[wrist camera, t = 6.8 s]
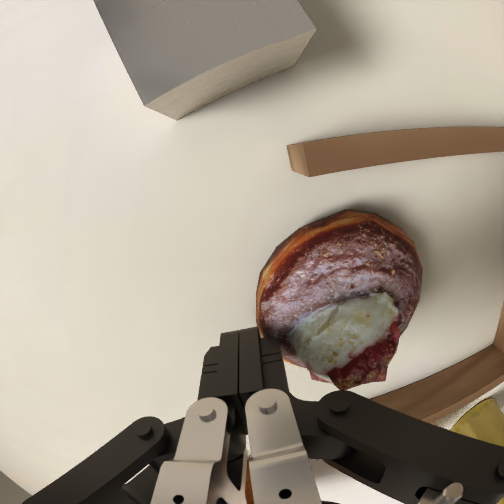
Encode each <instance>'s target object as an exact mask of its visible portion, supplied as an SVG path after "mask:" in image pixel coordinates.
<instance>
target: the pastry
mask: <svg viewBox="0 0 504 504" xmlns="http://www.w3.org/2000/svg"><path fill="white" fill-rule="evenodd" d="M421 281H422V266H421V263H420V260H419V257H418V254H417V251H416V248H415V245H414V242H413V241H412V240H411V239H410V238H409V237H408V236H407V234H406V233H405V232H404V231H403V230H402V229H401V228H399V227H398V226H396V225H394V224H393V223H391V222H389V221H388V220H386V219H384V218H383V217H381V216H379V215H378V214H375V213H367V212H360V211H352V210H343V211H340V212H338V213H336V214H333V215H331V216H328V217H326V218H323V219H321V220H318V221H316V222H313V223H311V224H309V225H306V226H304V227H301V228H299V229H298V230H296V231H295V232H294V233H293V234H292V235H290V236H289V237H288V238H287V239H286V240H284V241H283V242H282V243H281V244H280V245H278V246H277V247H276V249H275V250H274V252H273V253H272V255H271V257H270V258H269V260H268V261H267V263H266V264H265V266H264V267H263V269H262V270H261V272H260V276H259V281H258V286H257V291H256V322H257V326H258V329H259V333H260V337H261V338H265V337H270V336H273V337H274V338H275V339H276V340H277V341H278V342H279V343H280V348H281V353H282V357H283V361H285V362H288V363H291V364H294V365H297V366H300V367H303V368H307V369H308V370H309V372H310V375H311V379H312V380H317V381H322V382H327V383H333V384H334V385H335V386H336V387H337V388H338V389H340V390H347V389H350V388H353V387H356V386H359V385H361V384H366V383H370V382H380V381H385V380H386V374H387V368H388V364H389V363H390V361H391V359H392V358H393V356H394V354H395V353H396V351H397V347H398V342H399V337H400V336H401V334H402V333H403V332H404V331H405V329H406V328H407V326H408V324H409V322H410V320H411V318H412V315H413V313H414V311H415V309H416V307H417V304H418V302H419V297H420V291H421Z"/></svg>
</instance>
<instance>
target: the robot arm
mask: <svg viewBox="0 0 504 504" xmlns="http://www.w3.org/2000/svg"><path fill="white" fill-rule="evenodd" d="M246 435H249V442H250V449H251V459H249V469H250V477H251V484H252V491H253V498H254V504H339V503H334V502H328V501H321V499H320V496H319V492H318V489H317V486H316V482H315V479H314V476H313V473H312V469H311V466H310V463H309V459H308V458H310V459H323V460H324V462H326V463H327V464H329V465H330V466H332V467H334V468H336V469H337V470H339V471H341V472H343V473H344V474H346V475H348V476H350V477H352V478H353V479H355V480H357V481H359V482H361V483H363V484H365V485H367V486H369V487H371V488H373V489H375V490H377V491H379V492H381V493H383V494H385V495H387V496H389V497H391V498H393V499H396V500H398V501H400V502H402V503H405V504H498V503H499V501H500V500H501V499H502V498H504V447H503V446H500V445H496V444H492V443H489V442H485V441H482V440H478V439H475V438H472V437H469V436H465V435H462V434H459V433H456V432H453V431H450V430H447V429H444V428H441V427H438V426H436V425H433V424H430V423H427V422H425V421H422V420H419V419H416V418H414V417H411V416H409V415H406V414H404V413H401V412H398V411H396V410H393V409H391V408H389V407H386V406H384V405H381V404H379V403H377V402H374V401H372V400H370V399H367V398H365V397H363V396H360V395H358V394H356V393H354V392H351V391H346V390H339V391H334V392H331V393H329V394H327V395H325V396H324V397H322V398H321V399H320V401H303V400H300V399H297V398H295V397H294V396H293V395H292V394H291V393H290V392H289V388H288V382H287V377H286V372H285V367H284V362H283V357H282V353H281V348H280V343H279V342H278V341H277V340H276V339H275V338H274V337H273V336H270V337H265V338H261V337H260V333H259V329H258V327H252V328H247V329H242V330H240V331H239V330H237V331H231V332H226V333H221V336H220V346H215V347H210V349H209V350H208V352H207V353H206V355H205V356H204V362H203V368H202V374H201V381H200V387H199V394H198V401H196V402H195V403H193V404H192V405H191V406H190V407H189V409H188V410H187V413H186V416H185V417H184V418H182V419H179V420H176V421H173V422H170V423H166V424H163V423H162V421H161V420H160V419H158V418H156V417H149V416H148V417H143V418H140V419H138V420H136V421H135V422H133V423H132V424H131V425H129V426H128V427H127V428H126V429H124V430H123V431H122V432H121V433H119V434H118V435H117V436H115V437H114V438H113V439H112V440H110V441H109V442H108V443H106V444H105V445H104V446H102V447H101V448H100V449H98V450H97V451H96V452H94V453H93V454H92V455H90V456H89V457H88V458H86V459H85V460H83V461H82V462H81V463H79V464H78V465H77V466H75V467H74V468H72V469H71V470H70V471H68V472H67V473H65V474H64V475H62V476H61V477H60V478H58V479H57V480H55V481H54V482H52V483H51V484H49V485H48V486H46V487H45V488H43V489H42V490H40V491H39V492H37V493H36V494H34V495H33V496H31V497H30V498H28V499H27V500H25V501H24V502H23V503H22V504H247V502H246V498H245V483H246V468H247V448H246ZM148 464H149V466H148V467H147V468H146V469H144V470H143V471H142V472H141V473H140V474H138V475H137V476H136V477H135V478H133V479H132V480H131V481H130V482H128V483H127V484H125V483H126V482H127V481H128V480H130V479H131V478H132V477H133V476H134V475H136V474H137V473H138V472H139V471H141V470H142V469H143V468H144V467H145V466H147V465H148Z"/></svg>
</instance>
